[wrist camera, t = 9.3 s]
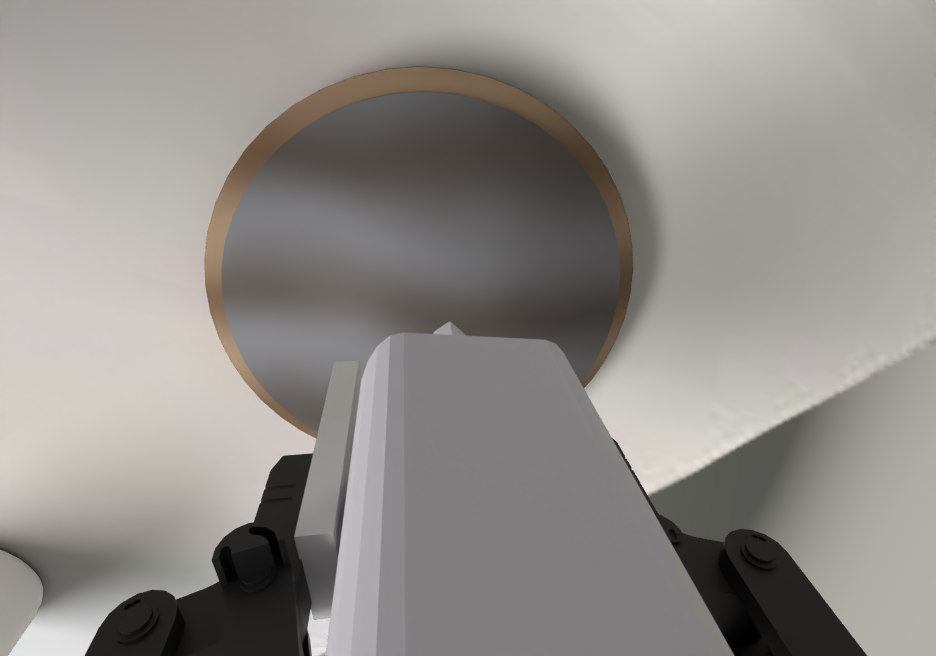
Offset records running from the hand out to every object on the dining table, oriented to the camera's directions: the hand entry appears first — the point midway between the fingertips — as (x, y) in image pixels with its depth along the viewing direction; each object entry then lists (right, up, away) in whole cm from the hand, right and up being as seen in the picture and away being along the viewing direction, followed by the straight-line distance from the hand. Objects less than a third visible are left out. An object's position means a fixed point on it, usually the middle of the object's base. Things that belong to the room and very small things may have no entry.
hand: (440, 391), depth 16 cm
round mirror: (-1, +4, +8) cm, 9 cm away
